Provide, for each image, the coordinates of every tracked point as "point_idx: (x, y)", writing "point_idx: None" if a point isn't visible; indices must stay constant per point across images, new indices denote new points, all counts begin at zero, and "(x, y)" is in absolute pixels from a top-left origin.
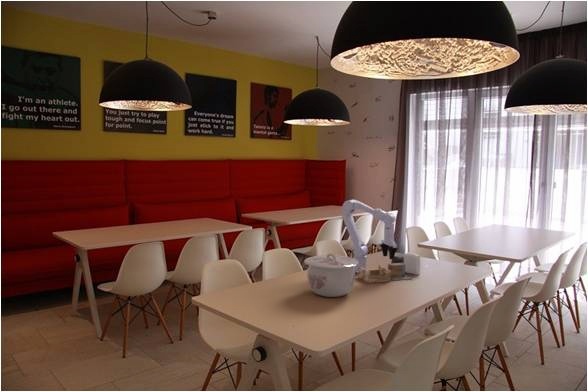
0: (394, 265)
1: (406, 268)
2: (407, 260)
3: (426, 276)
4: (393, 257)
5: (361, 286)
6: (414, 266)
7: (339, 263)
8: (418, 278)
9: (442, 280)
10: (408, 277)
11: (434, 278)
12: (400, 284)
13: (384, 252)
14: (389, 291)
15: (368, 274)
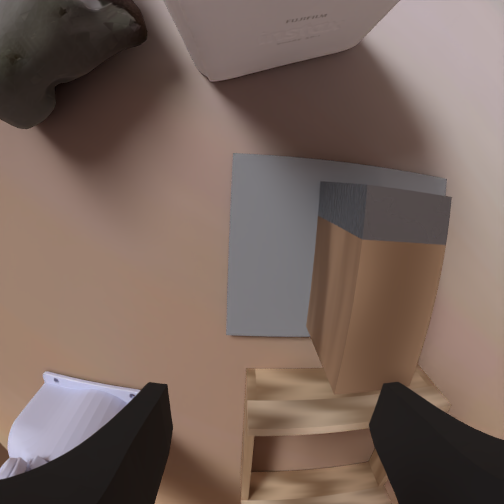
0: (419, 352)
1: (250, 62)
2: (268, 14)
3: (401, 15)
4: (412, 398)
5: (389, 488)
6: (363, 23)
7: None
8: (438, 109)
9: (489, 22)
10: (421, 184)
11: (452, 17)
12: (481, 328)
13: (154, 469)
14: (496, 411)
15: (375, 498)
